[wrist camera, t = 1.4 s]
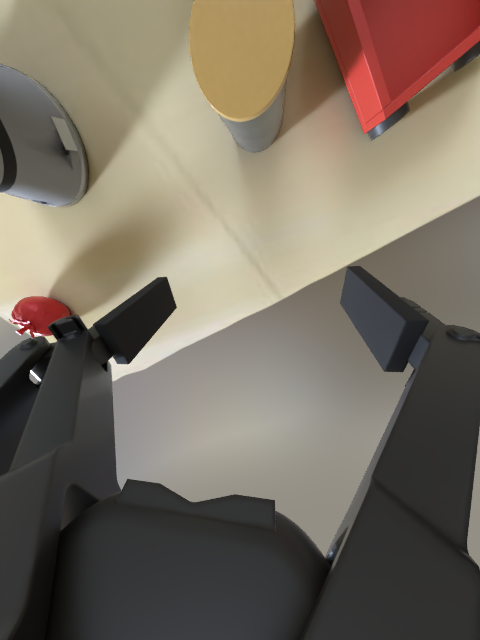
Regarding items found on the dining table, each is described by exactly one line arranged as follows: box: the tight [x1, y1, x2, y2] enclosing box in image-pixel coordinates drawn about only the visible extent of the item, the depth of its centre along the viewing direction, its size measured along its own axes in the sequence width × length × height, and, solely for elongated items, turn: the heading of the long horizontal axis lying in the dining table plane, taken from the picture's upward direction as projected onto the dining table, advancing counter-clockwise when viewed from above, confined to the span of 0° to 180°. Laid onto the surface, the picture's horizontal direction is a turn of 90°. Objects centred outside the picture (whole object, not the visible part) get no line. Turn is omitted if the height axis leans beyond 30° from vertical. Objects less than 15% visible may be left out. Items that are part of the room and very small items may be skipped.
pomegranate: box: [9, 296, 71, 338], centre depth 43 cm, size 10×10×9 cm
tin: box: [189, 0, 295, 153], centre depth 18 cm, size 7×7×14 cm
